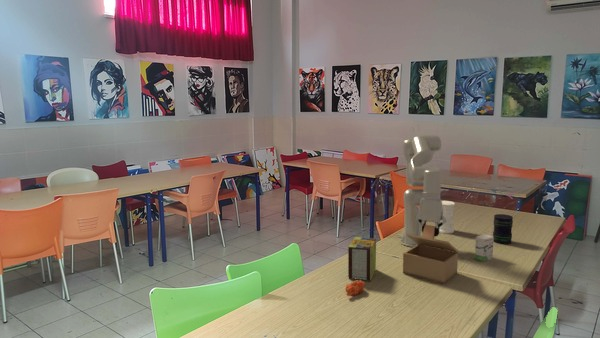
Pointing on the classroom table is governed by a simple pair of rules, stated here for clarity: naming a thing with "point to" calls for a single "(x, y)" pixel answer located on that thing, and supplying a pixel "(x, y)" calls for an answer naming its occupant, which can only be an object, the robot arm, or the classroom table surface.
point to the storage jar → (502, 229)
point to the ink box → (484, 247)
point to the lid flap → (431, 239)
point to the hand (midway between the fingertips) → (430, 234)
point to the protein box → (362, 258)
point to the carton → (430, 263)
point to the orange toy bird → (355, 287)
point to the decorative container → (447, 217)
